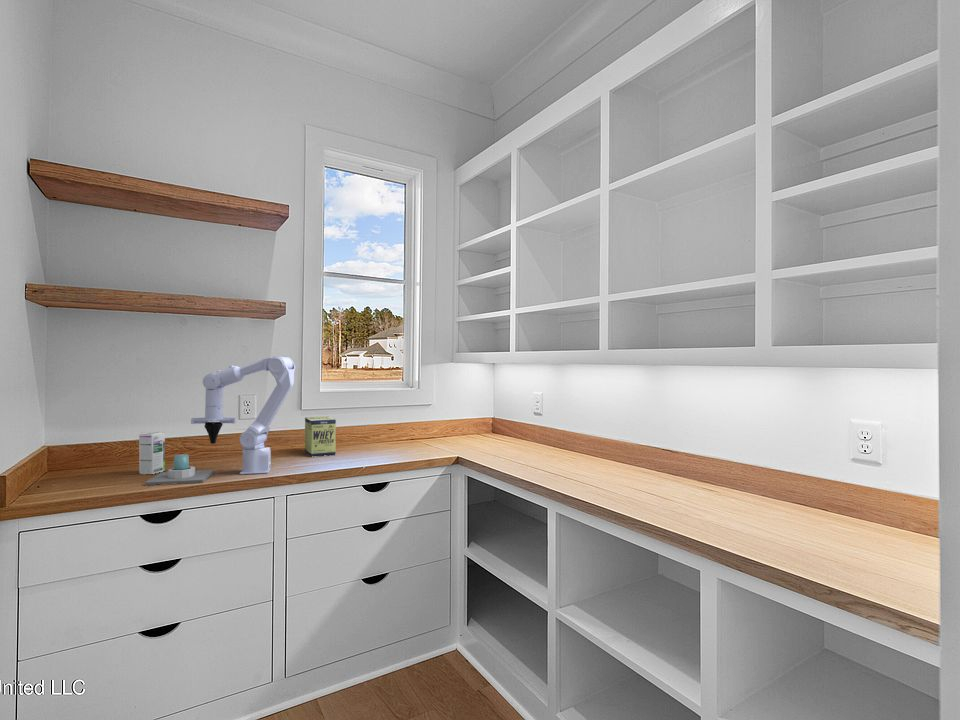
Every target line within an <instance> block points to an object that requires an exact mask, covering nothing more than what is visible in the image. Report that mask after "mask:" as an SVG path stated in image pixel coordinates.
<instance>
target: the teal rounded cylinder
mask: <svg viewBox="0 0 960 720" xmlns="http://www.w3.org/2000/svg"><path fill="white" fill-rule="evenodd" d="M189 456H190V454H175V455H173V468H174V470H187V469H189V465H190V464H189V463H190V461H189V459H190V458H189Z"/></svg>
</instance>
